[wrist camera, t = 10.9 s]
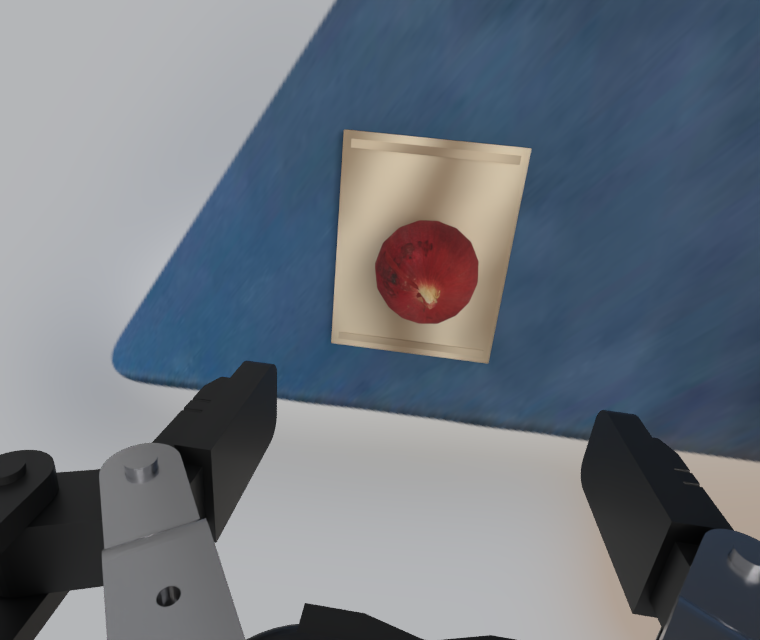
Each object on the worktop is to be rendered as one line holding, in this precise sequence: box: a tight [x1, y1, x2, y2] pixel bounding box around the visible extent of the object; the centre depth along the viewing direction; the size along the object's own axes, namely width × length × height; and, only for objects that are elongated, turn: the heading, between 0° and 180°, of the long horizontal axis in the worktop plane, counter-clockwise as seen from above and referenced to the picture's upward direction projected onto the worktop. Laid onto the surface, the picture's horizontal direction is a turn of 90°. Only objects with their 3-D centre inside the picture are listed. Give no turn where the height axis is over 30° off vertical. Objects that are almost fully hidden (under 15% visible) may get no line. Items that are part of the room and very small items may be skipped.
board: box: [331, 130, 531, 363], centre depth 31 cm, size 11×14×1 cm
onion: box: [375, 220, 479, 324], centre depth 27 cm, size 6×6×8 cm
